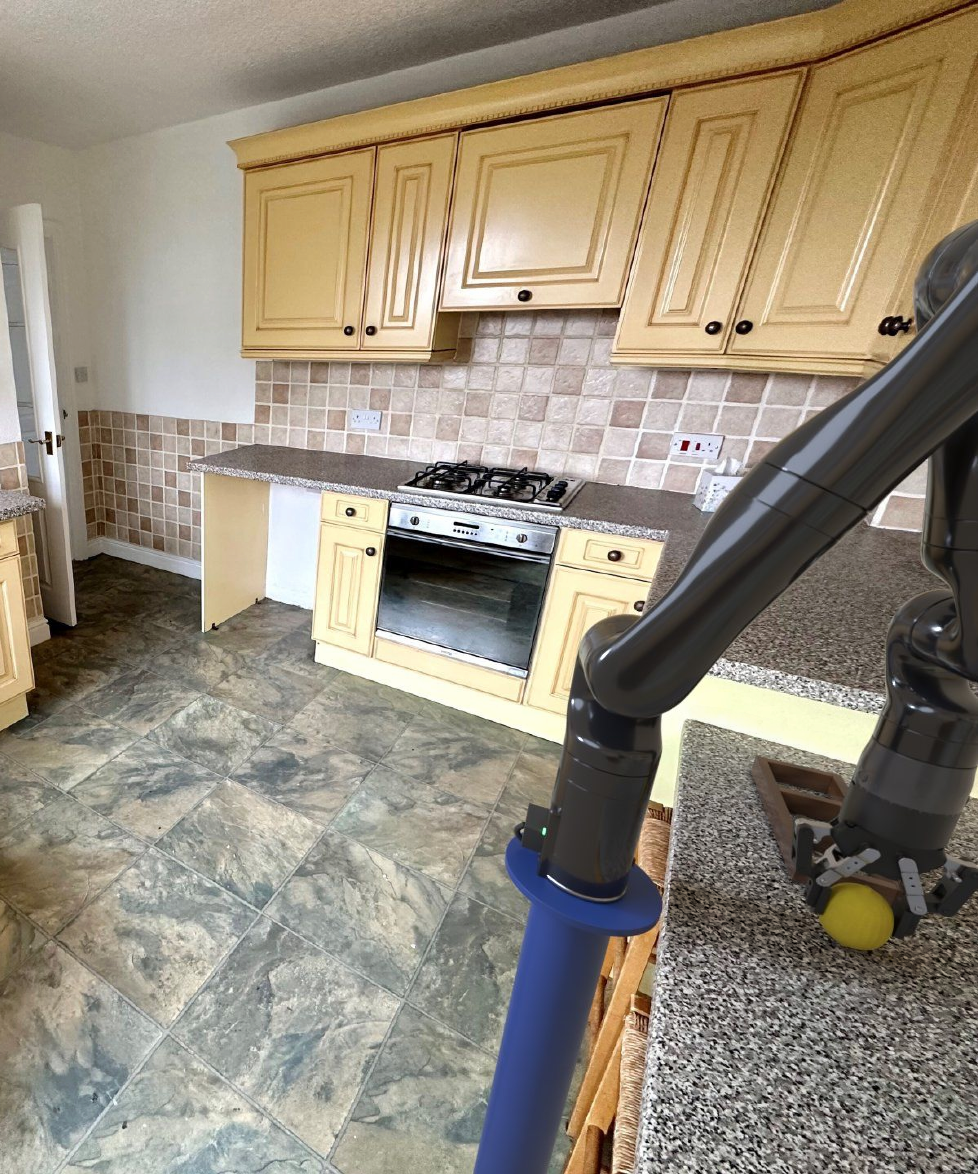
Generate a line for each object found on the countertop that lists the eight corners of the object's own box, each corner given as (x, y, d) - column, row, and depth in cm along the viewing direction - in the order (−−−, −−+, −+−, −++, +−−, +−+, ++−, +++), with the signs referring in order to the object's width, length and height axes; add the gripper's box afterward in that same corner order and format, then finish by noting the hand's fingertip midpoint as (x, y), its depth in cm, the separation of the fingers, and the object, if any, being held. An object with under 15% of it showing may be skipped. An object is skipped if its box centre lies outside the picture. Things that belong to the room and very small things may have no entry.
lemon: (888, 975, 66) (915, 915, 63) (817, 952, 68) (841, 894, 66) (867, 937, 70) (892, 879, 68) (802, 917, 73) (823, 861, 70)
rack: (791, 881, 78) (798, 861, 77) (750, 771, 100) (755, 755, 99) (903, 915, 73) (913, 894, 72) (834, 791, 95) (841, 774, 94)
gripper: (994, 791, 62) (933, 925, 68) (801, 749, 70) (759, 873, 75) (1036, 835, 56) (965, 978, 62) (820, 784, 64) (773, 916, 69)
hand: (852, 920), depth 68 cm, fingers open, 5 cm apart
